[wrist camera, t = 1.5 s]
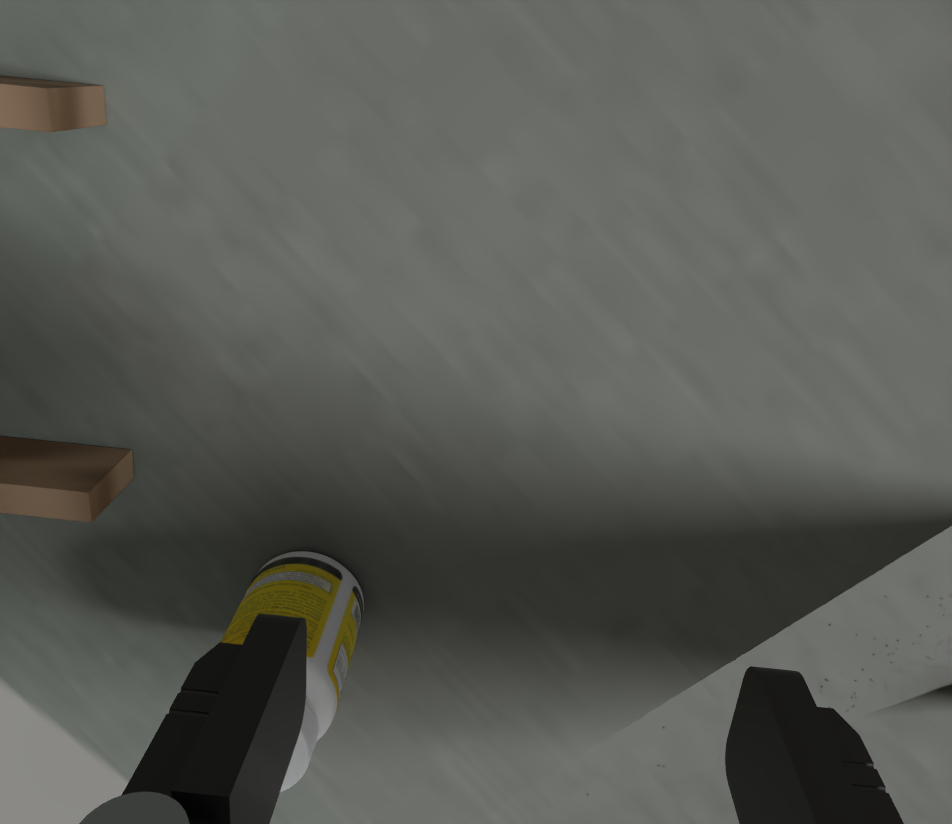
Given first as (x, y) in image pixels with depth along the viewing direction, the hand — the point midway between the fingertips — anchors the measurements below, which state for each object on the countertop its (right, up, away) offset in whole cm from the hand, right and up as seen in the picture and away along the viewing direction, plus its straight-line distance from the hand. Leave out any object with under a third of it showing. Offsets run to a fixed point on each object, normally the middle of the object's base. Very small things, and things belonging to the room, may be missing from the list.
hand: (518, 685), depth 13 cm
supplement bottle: (-8, -3, +21) cm, 23 cm away
